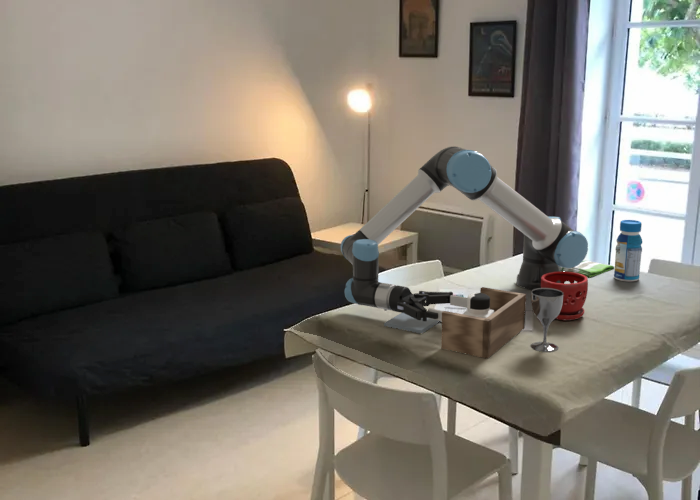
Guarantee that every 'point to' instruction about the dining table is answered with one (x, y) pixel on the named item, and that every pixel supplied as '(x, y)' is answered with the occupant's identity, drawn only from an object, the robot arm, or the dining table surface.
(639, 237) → the beverage bottle
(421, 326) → the grey pad
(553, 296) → the wine glass
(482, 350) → the walnut bay
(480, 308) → the medicine bottle
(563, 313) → the plant pot
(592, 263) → the dish towel
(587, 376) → the dining table surface
